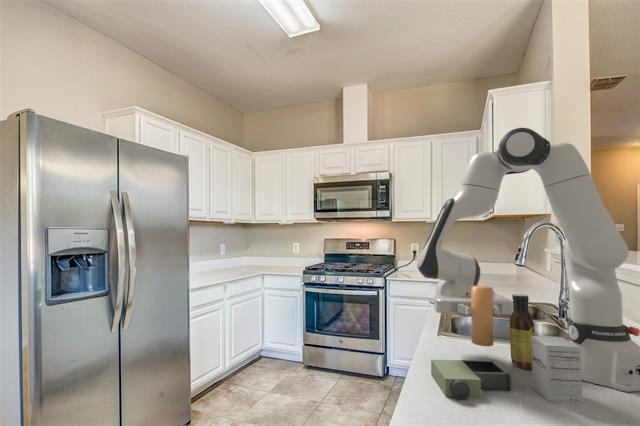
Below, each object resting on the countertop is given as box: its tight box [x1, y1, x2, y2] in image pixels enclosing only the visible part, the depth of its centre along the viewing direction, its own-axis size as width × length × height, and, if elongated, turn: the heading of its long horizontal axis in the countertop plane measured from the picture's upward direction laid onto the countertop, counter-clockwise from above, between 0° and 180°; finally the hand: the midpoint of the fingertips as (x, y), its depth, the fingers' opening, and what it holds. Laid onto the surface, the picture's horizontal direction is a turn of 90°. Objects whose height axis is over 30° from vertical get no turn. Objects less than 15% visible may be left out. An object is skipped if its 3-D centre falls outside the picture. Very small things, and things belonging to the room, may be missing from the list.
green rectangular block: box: [430, 359, 482, 401], centre depth 84 cm, size 8×14×4 cm, turn 177°
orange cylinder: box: [470, 285, 494, 347], centre depth 88 cm, size 5×5×14 cm
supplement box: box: [531, 335, 583, 405], centre depth 80 cm, size 7×7×13 cm
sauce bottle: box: [509, 293, 536, 370], centre depth 98 cm, size 6×6×20 cm
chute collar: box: [461, 359, 512, 392], centre depth 87 cm, size 8×9×4 cm
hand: (483, 311), depth 87 cm, fingers closed on orange cylinder, 5 cm apart
